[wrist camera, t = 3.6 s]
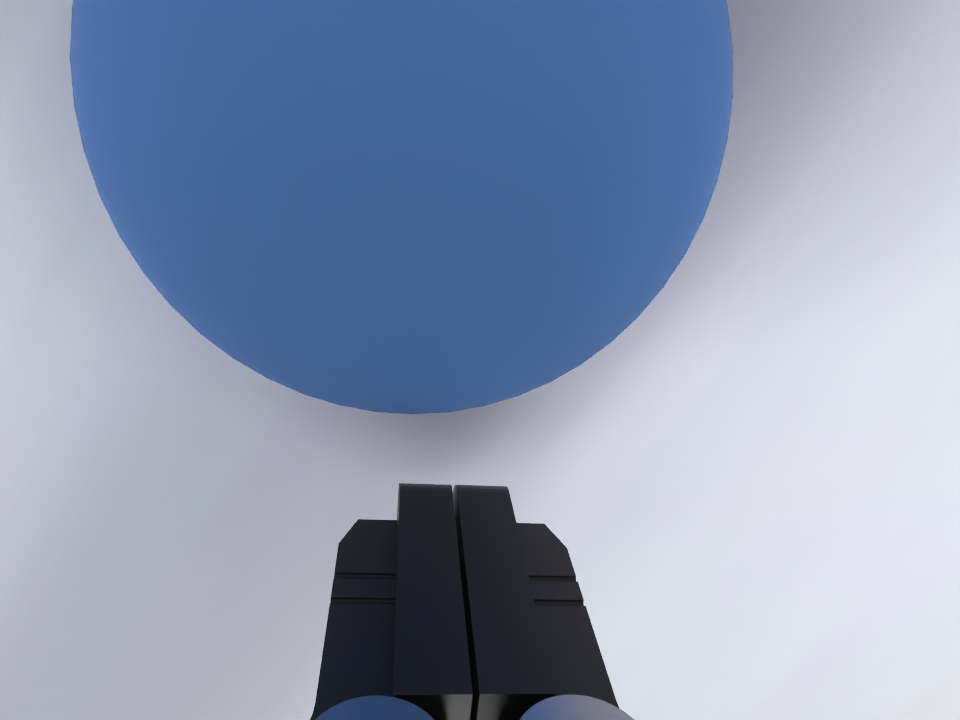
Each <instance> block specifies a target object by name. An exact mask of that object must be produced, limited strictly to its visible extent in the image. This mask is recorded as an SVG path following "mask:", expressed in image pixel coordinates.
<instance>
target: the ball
mask: <svg viewBox="0 0 960 720" xmlns="http://www.w3.org/2000/svg"><path fill="white" fill-rule="evenodd" d="M70 63H71V74H72V85H73V97H74V107H75V111H76V116H77V121H78V125H79V130H80V134H81V139H82V143H83V148H84V152H85V155H86V158H87V161H88V164H89V167H90V169H91V172H92V175H93V178H94V181H95V184H96V187H97V189H98V192H99V195H100V197H101V199H102V201H103V203H104V205H105V207H106V209H107V211H108V213H109V215H110V217H111V220H112V222H113V224H114V226H115V228H116V230H117V232H118V234H119V236H120V237H121V239H122V240H123V242H124V243H125V245H126V247H127V248H128V250H129V251H130V253H131V254H132V256H133V257H134V259H135V260H136V262H137V263H138V265H139V266H140V268H141V270H142V271H143V273H144V274H145V275H146V276H147V277H148V279H149V280H150V281H151V282H152V283H153V285H154V286H155V287H156V288H157V289H158V291H159V292H160V293H161V294H162V295H163V297H164V298H165V299H166V300H167V301H168V303H169V304H170V305H171V306H172V307H173V308H174V309H175V310H176V311H177V312H178V313H179V314H180V315H181V316H183V317H184V318H185V319H186V320H187V321H188V322H189V323H190V324H191V325H192V326H193V327H194V328H195V329H196V330H197V331H198V332H199V333H200V334H202V335H203V336H204V337H206V338H207V339H208V340H210V341H211V342H212V343H214V344H215V345H216V346H218V347H219V348H220V349H222V350H223V351H224V352H226V353H227V354H228V355H230V356H231V357H232V358H234V359H235V360H237V361H239V362H241V363H242V364H244V365H246V366H247V367H249V368H251V369H253V370H254V371H256V372H258V373H259V374H261V375H263V376H265V377H266V378H268V379H270V380H273V381H275V382H277V383H280V384H282V385H284V386H286V387H289V388H291V389H293V390H296V391H298V392H300V393H302V394H305V395H308V396H312V397H315V398H318V399H321V400H325V401H328V402H331V403H335V404H338V405H342V406H348V407H353V408H359V409H364V410H370V411H375V412H389V413H405V414H420V413H440V412H451V411H457V410H463V409H469V408H474V407H480V406H485V405H488V404H492V403H495V402H498V401H502V400H505V399H509V398H512V397H515V396H518V395H521V394H523V393H525V392H528V391H530V390H532V389H535V388H537V387H539V386H542V385H544V384H546V383H549V382H551V381H553V380H554V379H556V378H558V377H560V376H561V375H563V374H565V373H567V372H568V371H570V370H572V369H574V368H575V367H577V366H579V365H581V364H582V363H583V362H585V361H586V360H587V359H589V358H590V357H592V356H593V355H594V354H596V353H597V352H598V351H600V350H601V349H602V348H604V347H605V346H606V345H608V344H609V343H610V342H612V341H613V340H614V339H615V338H616V337H617V336H618V335H619V334H620V333H621V332H622V331H623V330H624V329H625V328H627V327H628V326H629V325H630V324H631V323H632V322H633V321H634V320H635V319H636V318H637V317H638V316H639V315H640V314H641V313H642V312H643V310H644V309H645V308H646V307H647V306H648V304H649V303H650V302H651V301H652V300H653V299H654V297H655V296H656V295H657V294H658V293H659V291H660V290H661V289H662V288H663V287H664V285H665V284H666V282H667V281H668V279H669V278H670V276H671V275H672V273H673V272H674V270H675V269H676V267H677V266H678V264H679V263H680V261H681V260H682V258H683V257H684V255H685V253H686V251H687V250H688V248H689V246H690V244H691V242H692V240H693V238H694V236H695V234H696V232H697V230H698V228H699V226H700V224H701V222H702V220H703V218H704V215H705V212H706V210H707V207H708V204H709V202H710V199H711V196H712V193H713V191H714V188H715V185H716V183H717V180H718V176H719V172H720V167H721V163H722V159H723V155H724V151H725V147H726V143H727V138H728V130H729V121H730V113H731V105H732V97H733V50H732V42H731V34H730V25H729V17H728V8H727V3H726V0H74V1H73V6H72V23H71V47H70Z"/></svg>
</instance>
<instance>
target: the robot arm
mask: <svg viewBox="0 0 960 720" xmlns="http://www.w3.org/2000/svg"><path fill="white" fill-rule="evenodd" d="M310 720H634V719H633V718H632V717H630V716H629V715H628V714H626V713H625V712H624V711H622V710H621V709H619V707H618V704H617V702H616V699H615V696H614V693H613V690H612V687H611V683H610V680H609V677H608V674H607V671H606V668H605V665H604V662H603V659H602V656H601V653H600V649H599V646H598V643H597V640H596V637H595V634H594V631H593V628H592V625H591V622H590V618H589V615H588V612H587V609H586V606H584V605H583V597H582V594H581V591H580V588H579V584H578V582H576V575H575V572H574V569H573V566H572V563H571V560H570V557H569V553H568V550H567V548H566V547H565V546H564V545H563V543H562V542H561V541H560V540H559V539H558V538H557V537H556V536H555V535H554V534H553V533H552V532H551V531H550V530H549V528H548V527H547V526H546V525H545V524H531V523H516V520H515V516H514V511H513V507H512V503H511V498H510V494H509V490H508V488H507V487H505V486H473V485H455V486H454V491H453V492H452V486H451V485H435V484H403V483H399V493H398V509H397V520H362V519H358V520H357V522H356V523H355V524H354V525H353V527H352V528H351V529H350V530H349V532H348V533H347V534H346V535H345V537H344V538H343V539H342V540H341V541H340V543H339V546H338V553H337V560H336V567H335V575H334V580H333V587H332V594H331V604H330V607H329V614H328V621H327V628H326V635H325V642H324V648H323V655H322V662H321V669H320V676H319V682H318V689H317V696H316V703H315V707H314V711H313V715H312V717H311V719H310Z"/></svg>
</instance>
